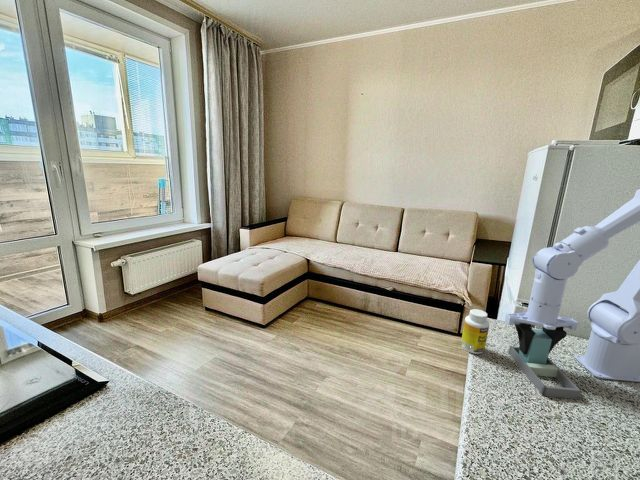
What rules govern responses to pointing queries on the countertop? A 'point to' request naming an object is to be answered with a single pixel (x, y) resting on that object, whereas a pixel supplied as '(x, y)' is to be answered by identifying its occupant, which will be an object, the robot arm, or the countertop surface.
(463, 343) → the supplement bottle
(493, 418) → the countertop surface
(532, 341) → the plug
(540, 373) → the caddy
